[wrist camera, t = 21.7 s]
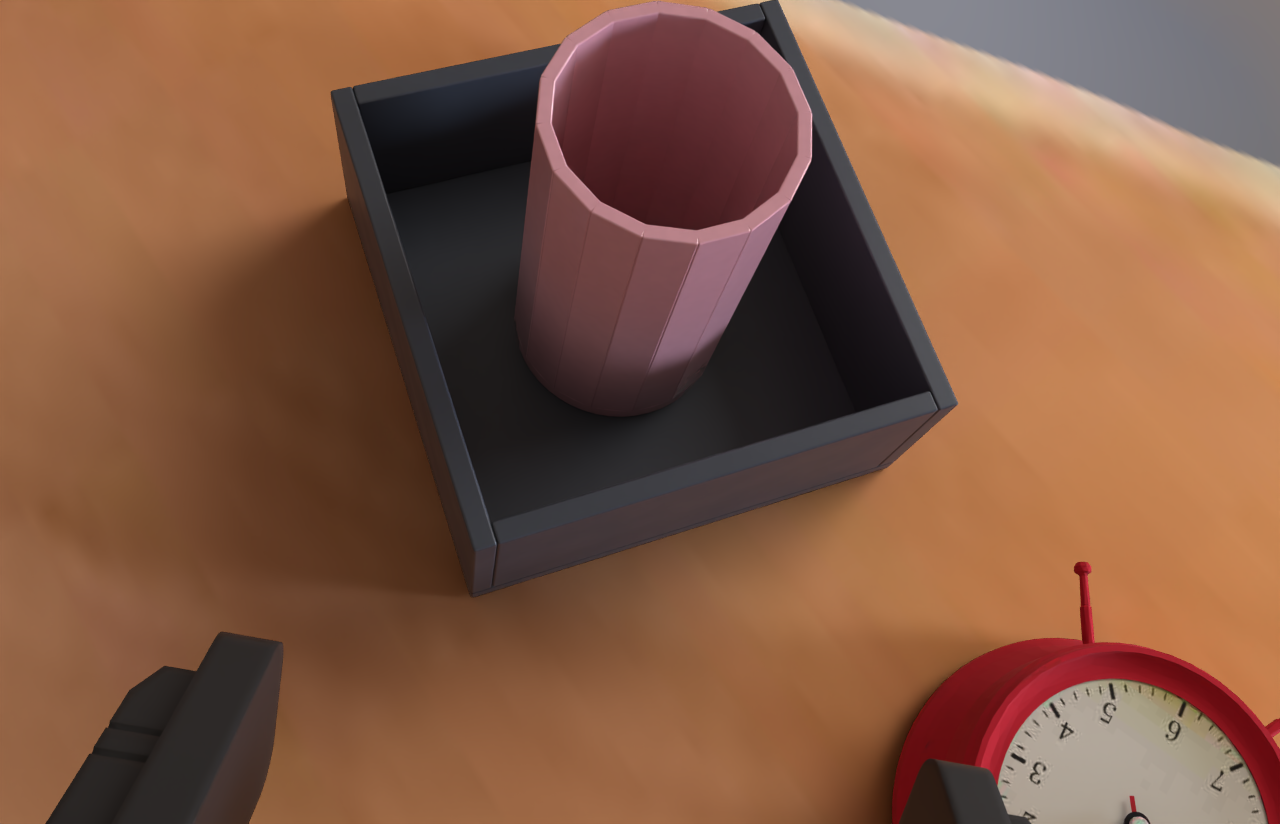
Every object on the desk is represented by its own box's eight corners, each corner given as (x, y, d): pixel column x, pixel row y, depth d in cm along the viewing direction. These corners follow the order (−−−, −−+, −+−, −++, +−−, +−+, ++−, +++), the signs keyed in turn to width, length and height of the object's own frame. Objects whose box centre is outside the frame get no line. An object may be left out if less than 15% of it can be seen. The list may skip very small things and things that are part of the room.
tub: (736, 107, 41) (777, -2, 36) (888, 467, 37) (959, 403, 32) (347, 195, 38) (329, 89, 32) (470, 598, 34) (473, 551, 29)
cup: (674, 213, 38) (754, -20, 28) (742, 387, 37) (854, 205, 26) (488, 258, 37) (501, 30, 27) (550, 441, 35) (589, 272, 25)
